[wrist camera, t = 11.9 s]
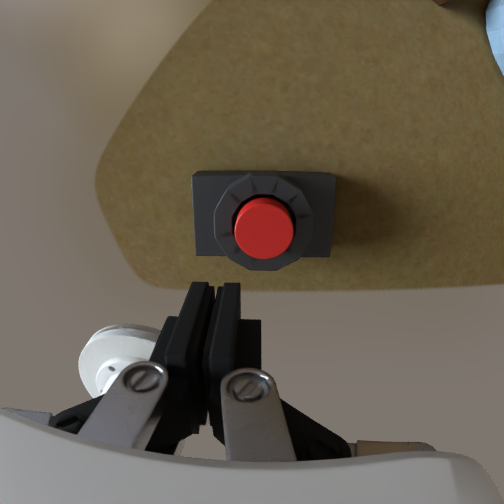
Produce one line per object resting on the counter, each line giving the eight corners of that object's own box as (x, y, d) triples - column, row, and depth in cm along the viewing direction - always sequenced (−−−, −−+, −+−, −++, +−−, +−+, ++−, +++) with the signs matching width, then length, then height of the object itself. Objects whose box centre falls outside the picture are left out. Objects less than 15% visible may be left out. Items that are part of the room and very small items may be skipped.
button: (237, 248, 22) (235, 259, 20) (236, 196, 20) (233, 203, 19) (289, 249, 21) (292, 260, 20) (292, 197, 20) (294, 204, 18)
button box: (201, 247, 26) (191, 269, 22) (197, 167, 23) (185, 176, 19) (324, 249, 25) (334, 271, 22) (330, 169, 23) (343, 178, 19)
